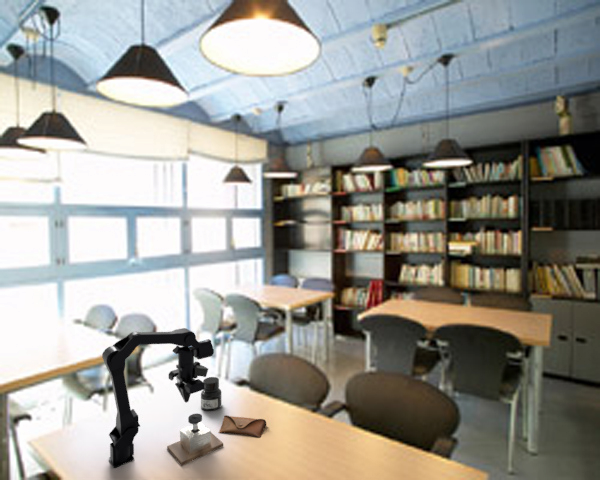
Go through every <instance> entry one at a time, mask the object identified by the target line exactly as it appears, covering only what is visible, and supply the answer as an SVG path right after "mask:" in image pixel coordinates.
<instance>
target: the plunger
mask: <svg viewBox="0 0 600 480" xmlns="http://www.w3.org/2000/svg"><path fill="white" fill-rule="evenodd" d="M187 419H188V424H191V425H193V433H196V432H198V423H199V422H201V423H202V421H203V415H202V414H201V413H192V414H190V415H189V416H188V418H187Z"/></svg>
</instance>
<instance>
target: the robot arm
mask: <svg viewBox="0 0 600 480" xmlns="http://www.w3.org/2000/svg"><path fill="white" fill-rule="evenodd" d="M168 344H170V345H175V347H174V348H173V350H172V353H174V354H175V355H177V356H178V358H177V361H178V363H177V364H176V365H175V367H176V369H174V370H173V369H172V370H171V371H169V372H168V380H170V381H174V378H175V379H176V380H175V381H176V382H175V384H174V385H175V386H176V388H177V390H178V392H179V393H180V396H181V398H182V399H183V402H184V403H189V401H190V397H191V395H192V394H196V393H198V392H202V391H203V390H204V389H205V383H204V382H203V381H202V380H201V379H198V377H202V378H207V375H208V371H209V368H208V367H206V366H204V365H202V364H201V362H199V360H202V359H207V358H211V357H213V356H214V353H215V350H214V346H213V344H212V340H211V339H209V338H208V339H205V340H201V341H199V340H197V336H196V334H195V333H194V331H192V330H190V329H188V328H184V327H183V328H178V329H174V330H172V331H171V330H170V331H140V332H139V331H132V332H130V333H129V334H127V336H125V337H123V338H122V339H119V340H118V341H116V342H115V343H114V344H113V345H110V346H108V347H106V348H105V349H104V350H103V352H102V354H101V355H102V360H103V363H104V364H105V367H106V369H107V371H108V373H109V375H110V379H111V385H112V391H113V397H114V401H115V405H116V406H115V407H116V418H115V427H113V429H112V430H111V431H110V432H109V434H108V436H109V438H110V440H111V443H110V444H109V449H110V450H109V453H110V454H109V455H110V456H109V457H108V460H109V462H110V464H111V465H112V468H114V469H115V468H118V467H120V466H123V465H125V464H127V463H130V462H132V461H134V460H135V457H134V455H135V448H134V447H135V445H134V439H135V437H136V436H137V434H138V433H139V428H140V427H141V425H140V424H139V414H138V413H137V412H136V410H135V409H134V408H132V409H131V406H130V405H131V404H130V400H129V393H128V389H127V388H128V387H127V382H126V378H125V369H126V359H127V358H129V357H130V356H131V355H132V354H133V352H134V351H135V350H136V348H137V347H139V345H142V346H143V345H168ZM195 358H196V359H197V360H198V361H195Z"/></svg>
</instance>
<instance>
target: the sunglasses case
mask: <svg viewBox="0 0 600 480" xmlns="http://www.w3.org/2000/svg"><path fill="white" fill-rule="evenodd" d="M223 417H224V418H223V419H222V423H221V426H220V428H219V431H218V434H230V435H231V434H232V435H239V436H249V437H254V438H261V437H262V435H263V432H264V431H265V429H266V427H267V421H266V419H264V418H251V417H243V416H241V417H240V416H231V415H224V416H223Z"/></svg>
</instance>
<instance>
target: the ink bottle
mask: <svg viewBox="0 0 600 480" xmlns="http://www.w3.org/2000/svg"><path fill="white" fill-rule="evenodd" d="M202 382H204V383H205V389H204V390H201V391H200V392H201V393H200V408H201V409H202V410H204V411H207V412H209V411H210V412H211V411H216V410H218V409H220V408H221V407H222V390H221V389H220V379H219V378H218V377H216V376H210V377H205V378H204V379H203V381H202Z"/></svg>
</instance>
